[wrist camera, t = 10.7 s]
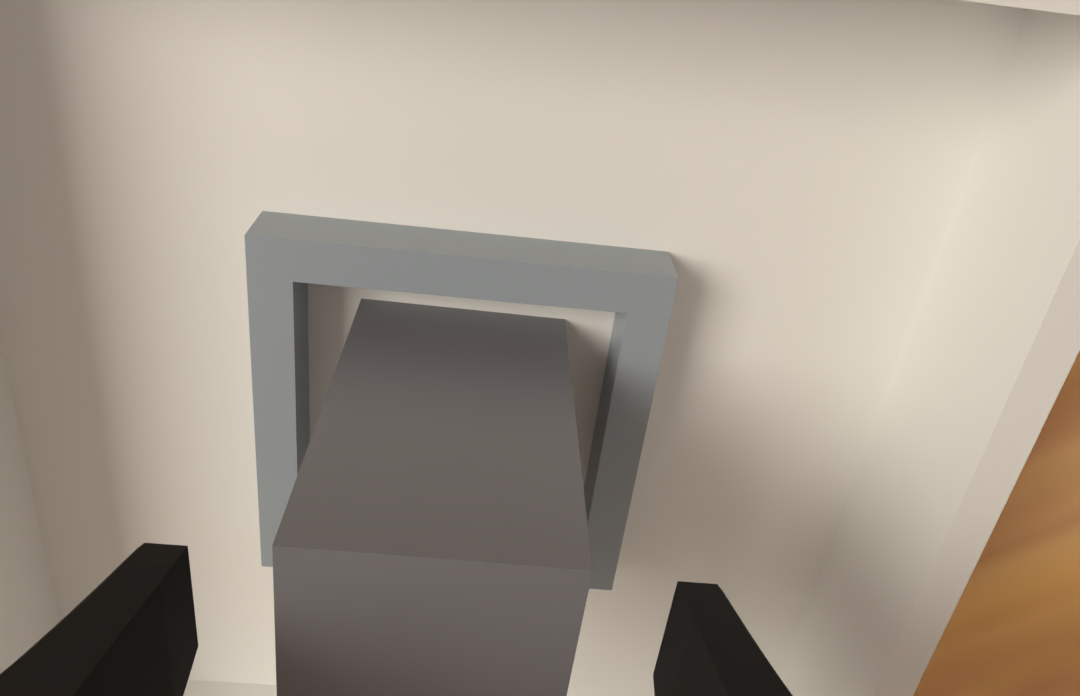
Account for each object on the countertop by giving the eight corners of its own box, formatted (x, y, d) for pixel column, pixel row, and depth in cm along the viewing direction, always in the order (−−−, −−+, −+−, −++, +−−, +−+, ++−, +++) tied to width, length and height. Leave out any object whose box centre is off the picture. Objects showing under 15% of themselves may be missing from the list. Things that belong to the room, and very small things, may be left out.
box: (1081, -55, 14) (1263, -31, 11) (785, 719, 24) (831, 864, 20) (-152, -221, 13) (-402, -256, 9) (51, 676, 22) (-35, 827, 19)
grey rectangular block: (564, 319, 17) (592, 570, 11) (539, 479, 19) (551, 770, 13) (361, 298, 17) (271, 546, 11) (356, 463, 19) (278, 754, 12)
